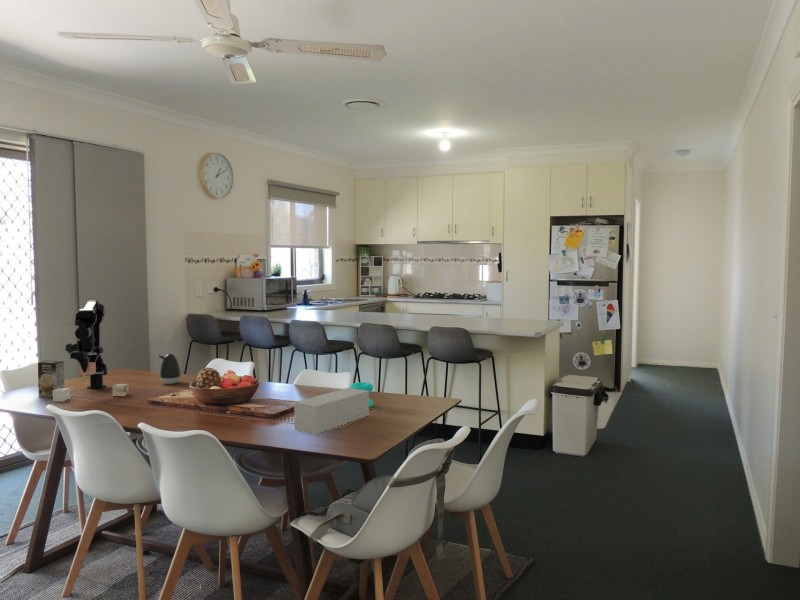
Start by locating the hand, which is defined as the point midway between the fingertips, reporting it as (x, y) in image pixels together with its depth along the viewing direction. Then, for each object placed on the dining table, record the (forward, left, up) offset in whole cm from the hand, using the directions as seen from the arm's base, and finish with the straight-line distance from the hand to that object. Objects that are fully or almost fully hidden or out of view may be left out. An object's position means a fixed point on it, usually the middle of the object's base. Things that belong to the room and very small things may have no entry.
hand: (87, 371), depth 288 cm
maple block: (-4, +13, -12) cm, 18 cm away
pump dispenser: (-33, +25, -12) cm, 43 cm away
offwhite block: (+6, -9, -12) cm, 16 cm away
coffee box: (-2, -18, -12) cm, 22 cm away
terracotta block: (0, 0, -1) cm, 1 cm away
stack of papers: (+42, +117, -12) cm, 125 cm away
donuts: (+15, +126, -12) cm, 127 cm away
